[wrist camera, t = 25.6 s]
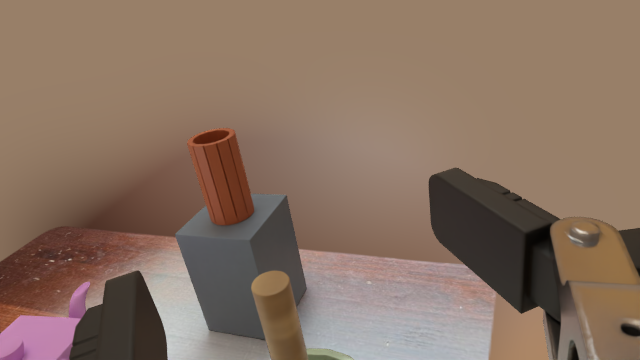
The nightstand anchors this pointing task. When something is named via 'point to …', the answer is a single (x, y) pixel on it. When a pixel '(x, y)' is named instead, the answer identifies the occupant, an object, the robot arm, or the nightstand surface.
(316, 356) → the bowl
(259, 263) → the holder
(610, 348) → the robot arm
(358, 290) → the nightstand surface
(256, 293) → the stick
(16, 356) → the teapot
